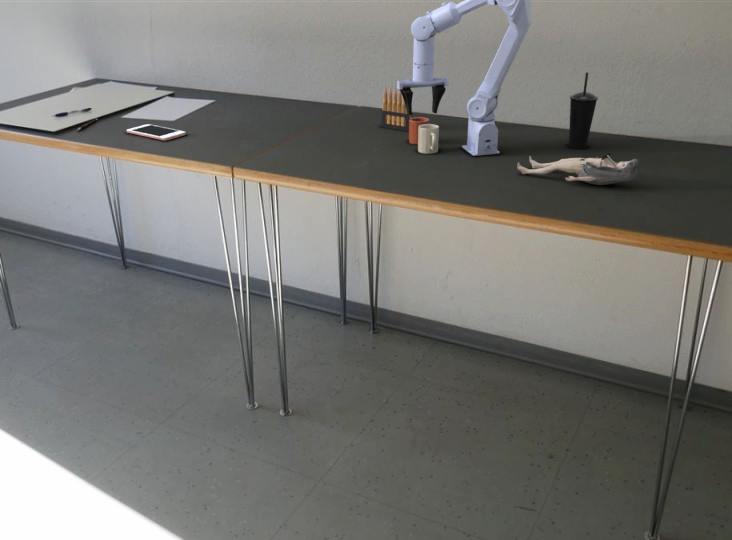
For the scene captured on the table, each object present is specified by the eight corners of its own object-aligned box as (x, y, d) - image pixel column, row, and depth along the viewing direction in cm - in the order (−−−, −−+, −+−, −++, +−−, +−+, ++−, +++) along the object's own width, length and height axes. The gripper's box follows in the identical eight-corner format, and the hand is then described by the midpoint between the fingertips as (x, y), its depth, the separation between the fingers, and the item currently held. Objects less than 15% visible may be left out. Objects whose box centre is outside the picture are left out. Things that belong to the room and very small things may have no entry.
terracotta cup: (430, 143, 235) (431, 121, 232) (412, 145, 234) (412, 122, 231) (422, 136, 242) (422, 115, 238) (404, 138, 241) (404, 116, 237)
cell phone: (164, 141, 242) (164, 138, 242) (126, 132, 252) (125, 129, 251) (186, 134, 248) (186, 131, 248) (148, 126, 258) (147, 123, 257)
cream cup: (415, 149, 230) (415, 124, 227) (434, 147, 232) (435, 123, 228) (424, 156, 224) (425, 131, 220) (443, 154, 225) (444, 130, 222)
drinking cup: (592, 150, 226) (602, 75, 215) (564, 149, 227) (573, 75, 217) (590, 143, 232) (600, 70, 222) (563, 142, 234) (572, 69, 223)
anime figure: (531, 148, 212) (646, 149, 195) (532, 176, 216) (644, 180, 198) (515, 157, 206) (631, 159, 188) (516, 185, 209) (631, 190, 192)
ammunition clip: (412, 130, 249) (413, 89, 242) (409, 131, 247) (410, 90, 241) (384, 125, 254) (384, 85, 248) (381, 126, 253) (381, 86, 247)
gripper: (442, 59, 228) (440, 108, 235) (394, 62, 225) (393, 112, 232) (451, 63, 222) (449, 114, 229) (401, 66, 219) (401, 118, 226)
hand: (421, 113), depth 230 cm, fingers open, 7 cm apart
